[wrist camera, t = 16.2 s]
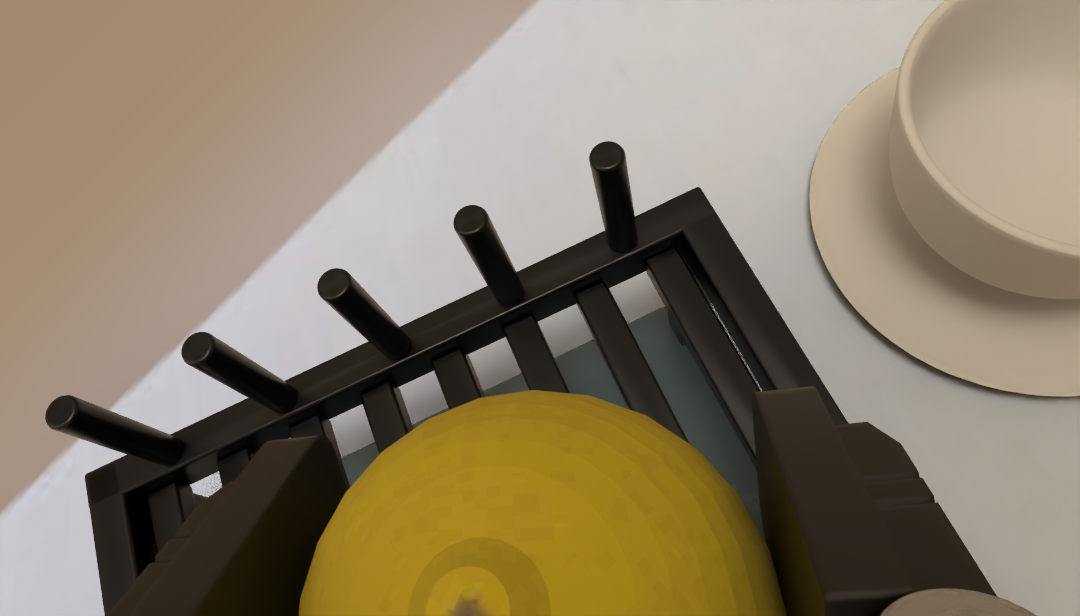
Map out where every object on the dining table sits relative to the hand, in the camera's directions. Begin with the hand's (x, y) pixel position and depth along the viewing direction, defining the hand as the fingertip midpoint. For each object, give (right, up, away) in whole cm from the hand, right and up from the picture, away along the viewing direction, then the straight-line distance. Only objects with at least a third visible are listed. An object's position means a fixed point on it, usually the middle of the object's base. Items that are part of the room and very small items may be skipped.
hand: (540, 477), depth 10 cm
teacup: (+12, +5, +10) cm, 16 cm away
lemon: (+1, -3, +3) cm, 5 cm away
